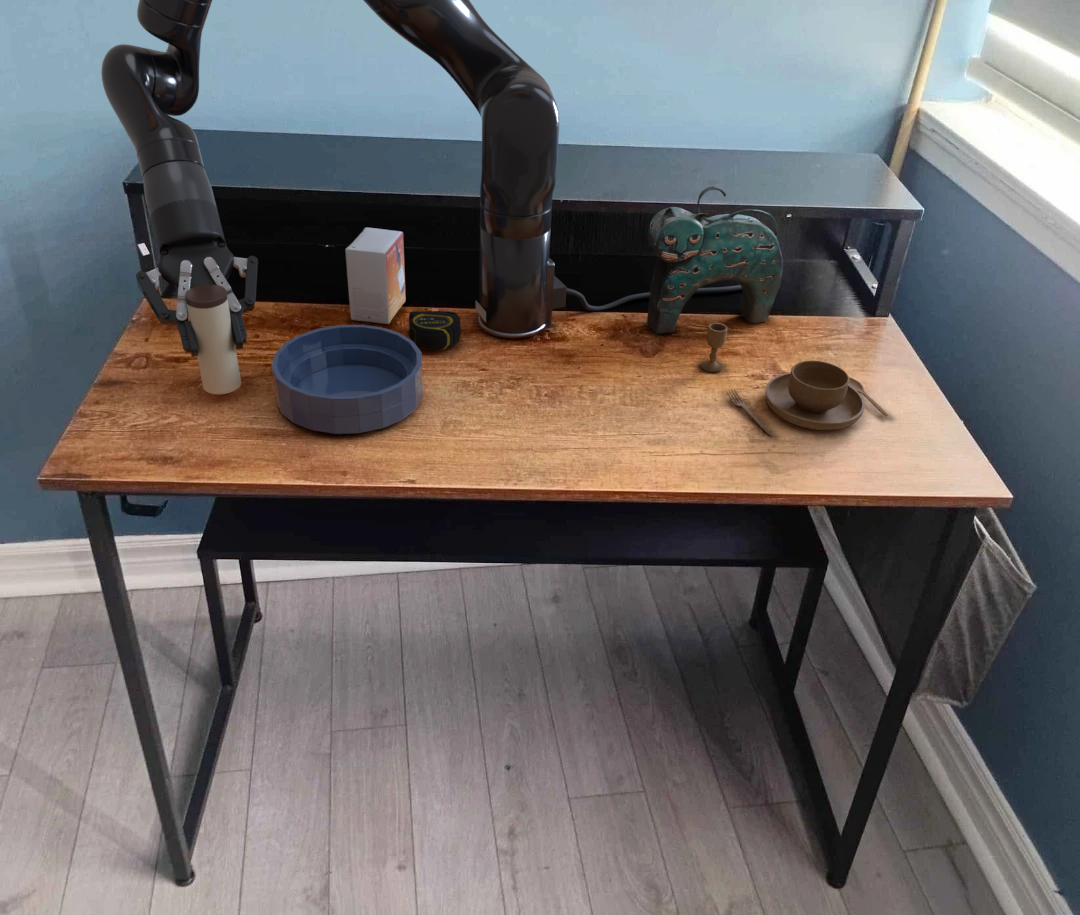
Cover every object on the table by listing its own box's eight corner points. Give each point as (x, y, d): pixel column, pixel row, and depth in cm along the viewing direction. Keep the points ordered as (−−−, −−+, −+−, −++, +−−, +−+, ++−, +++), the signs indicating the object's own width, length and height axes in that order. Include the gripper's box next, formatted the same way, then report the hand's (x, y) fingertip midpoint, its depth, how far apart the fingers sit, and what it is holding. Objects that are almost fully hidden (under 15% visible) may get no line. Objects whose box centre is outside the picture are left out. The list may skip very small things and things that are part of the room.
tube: (237, 372, 119) (222, 281, 112) (245, 390, 116) (229, 298, 108) (199, 379, 117) (181, 287, 110) (205, 397, 114) (187, 304, 107)
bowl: (397, 353, 127) (395, 315, 124) (442, 421, 115) (442, 381, 112) (263, 377, 121) (258, 338, 118) (296, 452, 109) (291, 410, 105)
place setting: (776, 447, 113) (786, 404, 110) (693, 364, 128) (699, 324, 125) (899, 421, 119) (911, 380, 116) (805, 344, 134) (814, 306, 131)
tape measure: (460, 331, 133) (460, 306, 131) (460, 356, 127) (460, 331, 125) (409, 331, 132) (408, 306, 130) (407, 356, 127) (406, 330, 125)
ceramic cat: (646, 340, 133) (664, 197, 122) (630, 318, 138) (645, 179, 127) (778, 326, 138) (806, 188, 127) (757, 305, 143) (783, 171, 132)
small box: (388, 326, 133) (385, 253, 127) (349, 320, 134) (344, 248, 128) (407, 300, 140) (404, 230, 134) (369, 295, 140) (365, 225, 134)
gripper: (115, 205, 107) (150, 352, 106) (247, 189, 112) (283, 330, 111) (120, 232, 114) (153, 371, 113) (244, 217, 119) (278, 349, 118)
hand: (217, 350), depth 112 cm, fingers closed on tube, 4 cm apart
